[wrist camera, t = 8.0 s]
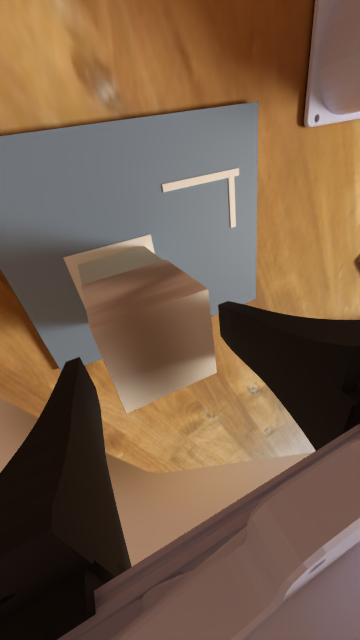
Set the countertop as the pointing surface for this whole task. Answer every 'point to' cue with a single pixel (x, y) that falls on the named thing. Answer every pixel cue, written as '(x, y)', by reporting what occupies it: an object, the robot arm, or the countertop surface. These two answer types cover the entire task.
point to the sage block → (116, 264)
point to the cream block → (151, 331)
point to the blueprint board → (127, 210)
